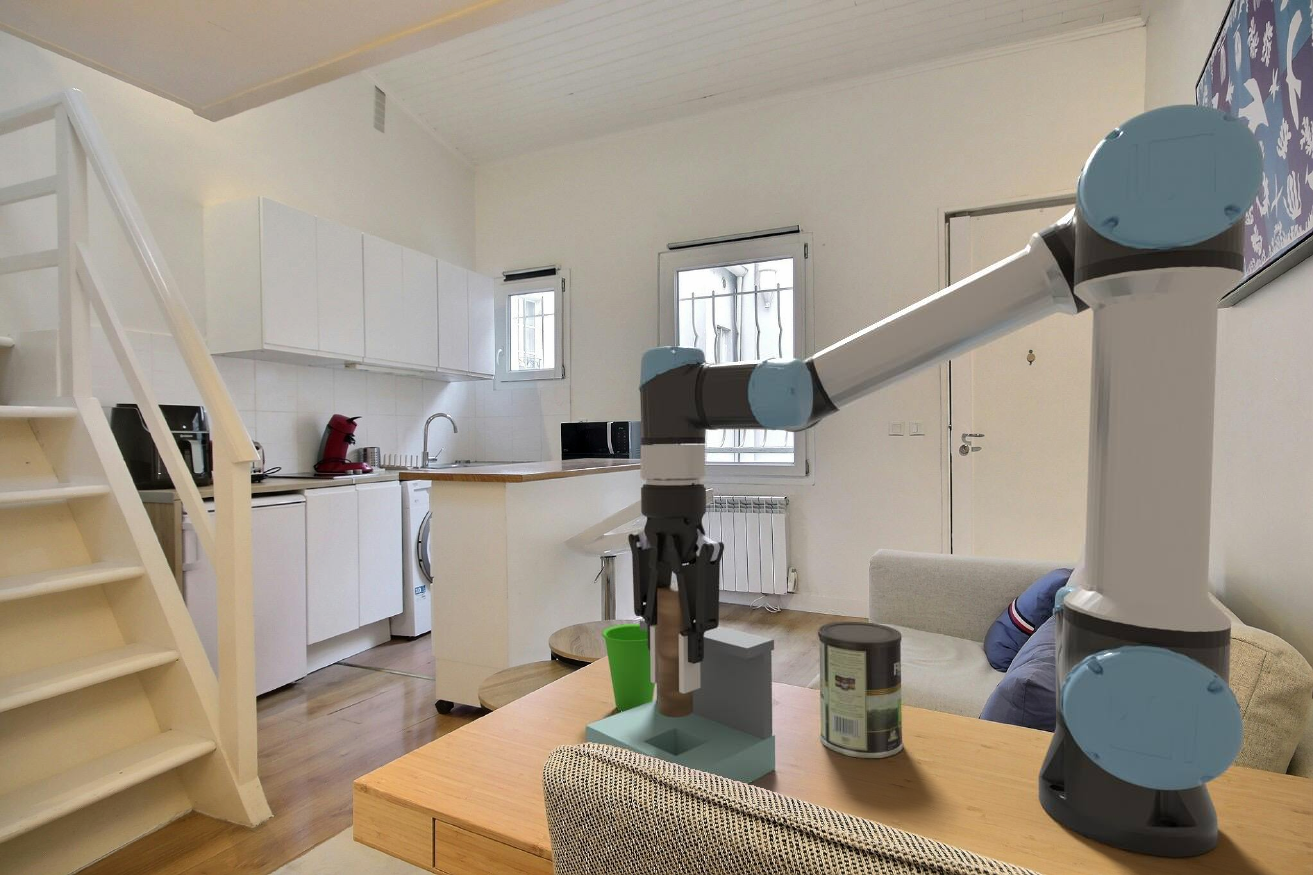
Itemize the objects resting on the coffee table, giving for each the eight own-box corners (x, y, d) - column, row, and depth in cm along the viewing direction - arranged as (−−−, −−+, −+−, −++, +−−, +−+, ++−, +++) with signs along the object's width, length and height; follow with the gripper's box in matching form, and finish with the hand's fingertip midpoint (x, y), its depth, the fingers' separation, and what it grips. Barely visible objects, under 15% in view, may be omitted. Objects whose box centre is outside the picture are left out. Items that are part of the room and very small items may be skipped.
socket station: (775, 769, 82) (773, 639, 82) (693, 813, 72) (692, 666, 72) (667, 725, 95) (666, 613, 95) (586, 758, 85) (585, 633, 85)
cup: (665, 719, 97) (664, 640, 97) (599, 720, 97) (599, 640, 97) (665, 696, 106) (664, 623, 106) (605, 696, 106) (604, 623, 106)
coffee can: (896, 727, 93) (895, 622, 93) (908, 762, 83) (907, 644, 83) (818, 722, 95) (816, 619, 95) (820, 755, 85) (819, 640, 85)
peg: (700, 710, 80) (699, 588, 80) (675, 720, 77) (674, 594, 78) (675, 701, 83) (674, 584, 83) (651, 710, 80) (650, 589, 80)
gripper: (751, 483, 77) (754, 695, 77) (646, 478, 89) (648, 661, 89) (706, 486, 72) (708, 714, 72) (601, 481, 84) (603, 675, 84)
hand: (675, 684), depth 80 cm, fingers closed on peg, 4 cm apart
